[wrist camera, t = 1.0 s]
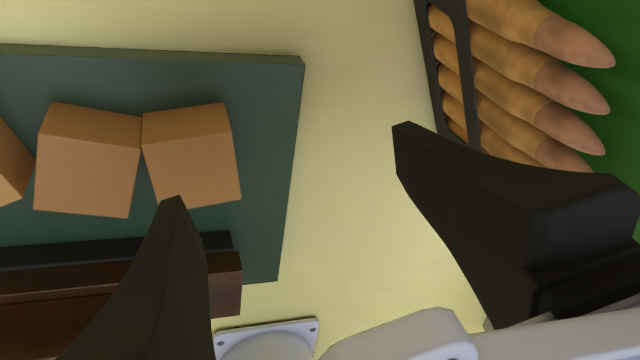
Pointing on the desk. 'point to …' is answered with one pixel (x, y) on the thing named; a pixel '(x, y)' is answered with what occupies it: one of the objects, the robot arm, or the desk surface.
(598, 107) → the ammunition clip
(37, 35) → the desk surface
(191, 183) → the cardboard box
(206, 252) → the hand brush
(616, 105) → the hardback book
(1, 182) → the wooden block
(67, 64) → the desk board
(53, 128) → the light brown cube
